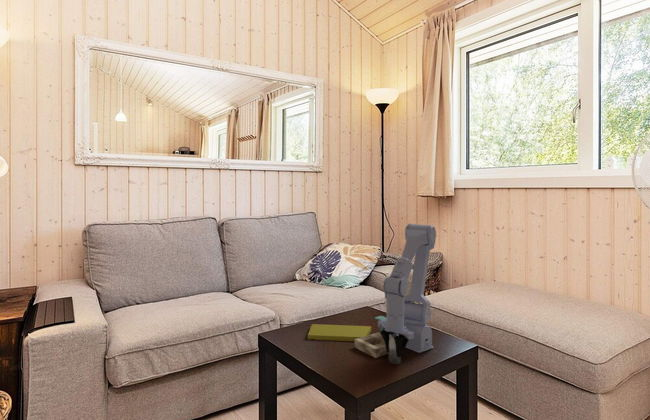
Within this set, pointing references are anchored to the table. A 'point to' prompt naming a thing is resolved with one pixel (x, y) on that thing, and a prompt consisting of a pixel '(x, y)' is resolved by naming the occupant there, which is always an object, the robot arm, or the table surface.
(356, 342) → the socket block
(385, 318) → the teal block
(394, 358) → the peg
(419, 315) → the robot arm
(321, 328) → the flat olive board
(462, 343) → the table surface
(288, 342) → the table surface
